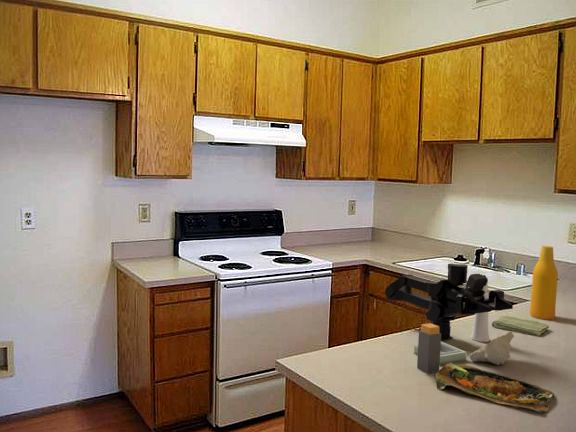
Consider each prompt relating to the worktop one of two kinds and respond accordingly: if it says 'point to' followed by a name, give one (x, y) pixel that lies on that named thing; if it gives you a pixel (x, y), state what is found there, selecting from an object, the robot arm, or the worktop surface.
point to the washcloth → (520, 325)
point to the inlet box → (448, 353)
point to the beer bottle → (544, 286)
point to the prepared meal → (494, 387)
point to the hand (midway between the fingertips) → (501, 308)
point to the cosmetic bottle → (481, 323)
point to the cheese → (494, 350)
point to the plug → (429, 348)
